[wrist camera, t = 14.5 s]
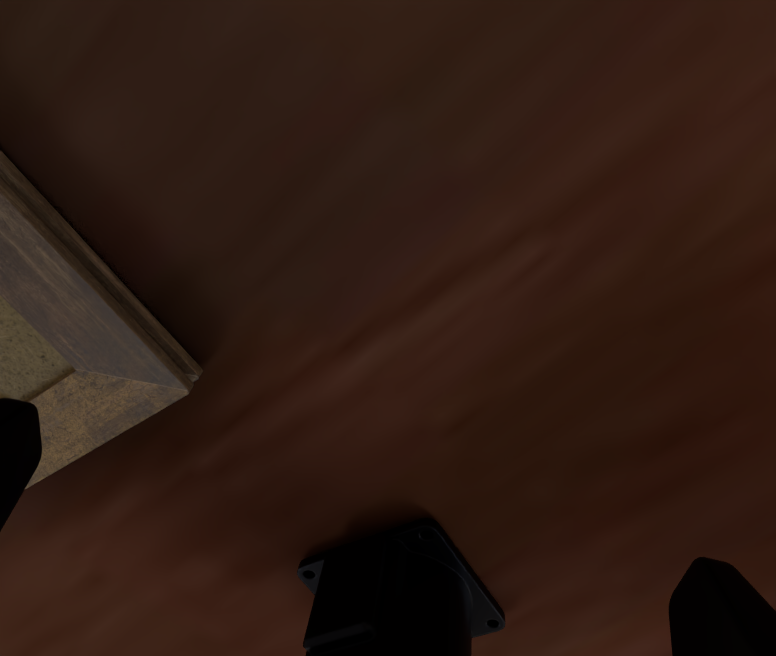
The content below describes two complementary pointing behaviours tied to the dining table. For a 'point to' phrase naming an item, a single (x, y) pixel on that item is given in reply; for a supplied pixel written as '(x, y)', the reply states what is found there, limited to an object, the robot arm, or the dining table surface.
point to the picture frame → (75, 333)
